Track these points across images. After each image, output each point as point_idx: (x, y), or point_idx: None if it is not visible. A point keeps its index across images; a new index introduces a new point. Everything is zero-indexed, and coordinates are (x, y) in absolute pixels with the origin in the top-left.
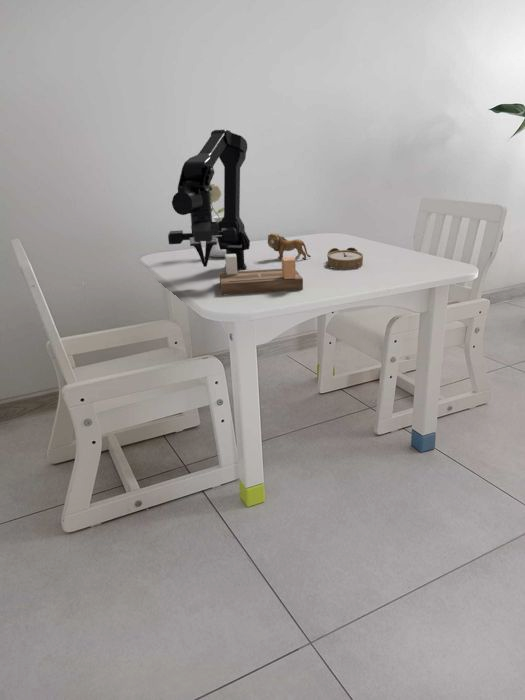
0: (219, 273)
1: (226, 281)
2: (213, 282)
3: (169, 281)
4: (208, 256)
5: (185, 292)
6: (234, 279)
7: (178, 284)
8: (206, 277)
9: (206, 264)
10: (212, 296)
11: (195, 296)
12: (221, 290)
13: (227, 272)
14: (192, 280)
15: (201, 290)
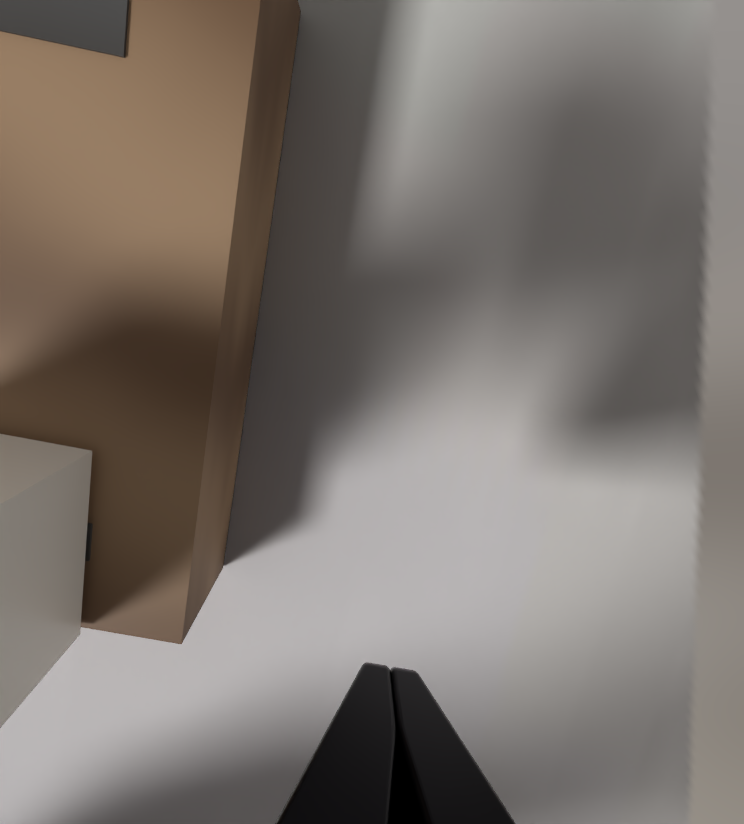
0: (186, 600)
1: (159, 66)
2: (287, 608)
3: (686, 814)
4: (294, 822)
5: (676, 350)
6: (11, 138)
7: (642, 683)
8: None
9: (366, 685)
10: (432, 7)
11: (626, 113)
12: (270, 223)
13: (61, 461)
14: None
15: (486, 352)
